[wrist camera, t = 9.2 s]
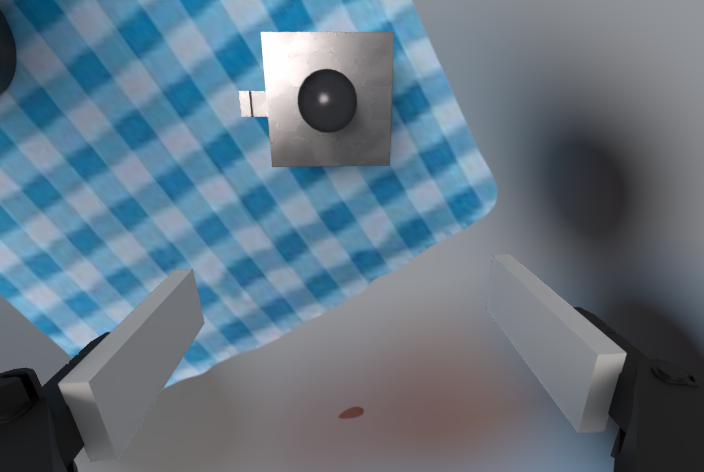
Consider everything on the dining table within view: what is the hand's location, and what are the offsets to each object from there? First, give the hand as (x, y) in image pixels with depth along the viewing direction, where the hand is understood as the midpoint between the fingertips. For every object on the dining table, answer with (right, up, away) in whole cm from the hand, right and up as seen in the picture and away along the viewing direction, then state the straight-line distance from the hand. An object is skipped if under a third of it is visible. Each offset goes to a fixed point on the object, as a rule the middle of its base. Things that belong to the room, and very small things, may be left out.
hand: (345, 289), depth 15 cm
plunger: (-2, +19, +28) cm, 34 cm away
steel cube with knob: (-4, +20, +31) cm, 37 cm away
